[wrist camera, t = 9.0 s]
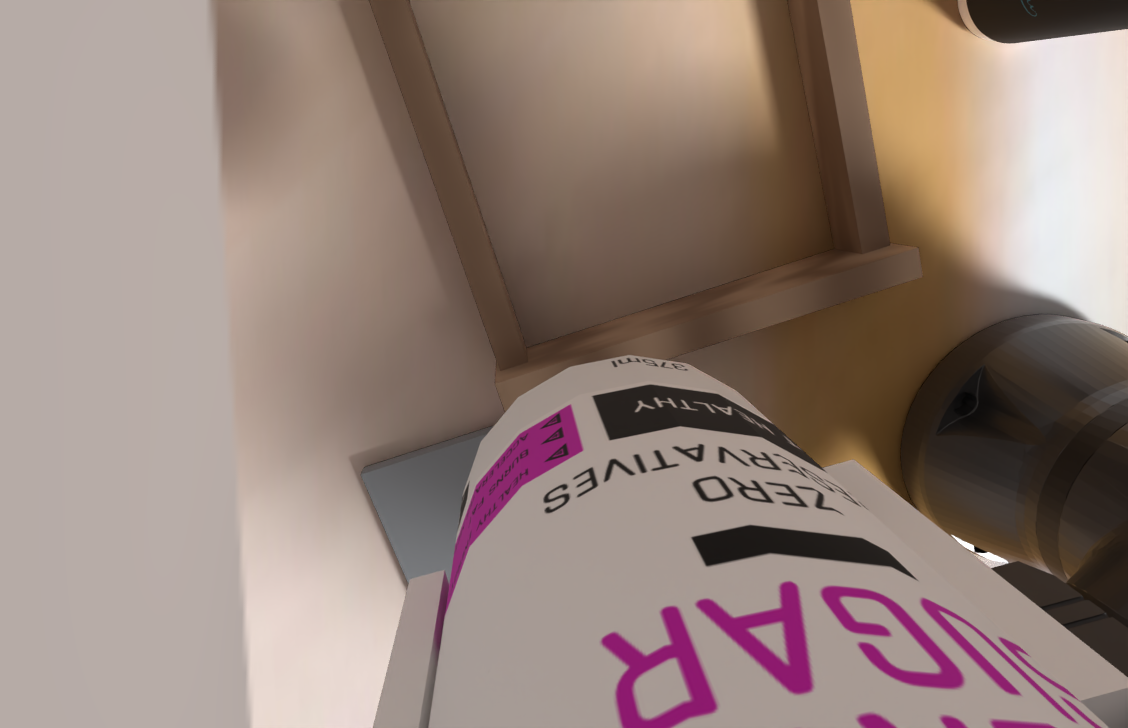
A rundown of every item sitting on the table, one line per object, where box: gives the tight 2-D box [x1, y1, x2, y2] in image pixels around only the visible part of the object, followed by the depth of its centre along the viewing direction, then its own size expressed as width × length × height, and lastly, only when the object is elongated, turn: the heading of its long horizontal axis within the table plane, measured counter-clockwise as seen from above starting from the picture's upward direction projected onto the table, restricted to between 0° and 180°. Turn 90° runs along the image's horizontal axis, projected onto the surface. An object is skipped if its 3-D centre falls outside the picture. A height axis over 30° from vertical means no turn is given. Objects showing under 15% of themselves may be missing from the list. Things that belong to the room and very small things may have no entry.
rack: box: [369, 0, 923, 411], centre depth 31 cm, size 22×24×5 cm
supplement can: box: [428, 355, 1109, 728], centre depth 10 cm, size 8×8×15 cm
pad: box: [361, 426, 494, 584], centre depth 39 cm, size 12×12×1 cm
